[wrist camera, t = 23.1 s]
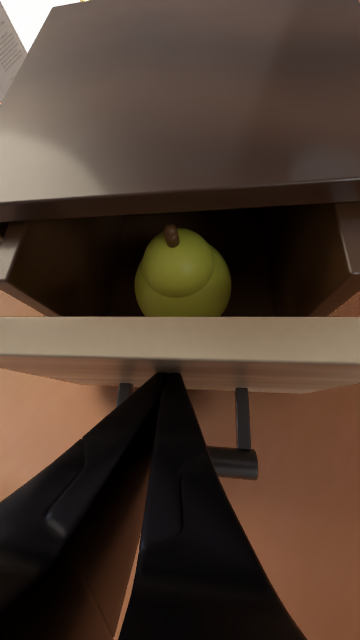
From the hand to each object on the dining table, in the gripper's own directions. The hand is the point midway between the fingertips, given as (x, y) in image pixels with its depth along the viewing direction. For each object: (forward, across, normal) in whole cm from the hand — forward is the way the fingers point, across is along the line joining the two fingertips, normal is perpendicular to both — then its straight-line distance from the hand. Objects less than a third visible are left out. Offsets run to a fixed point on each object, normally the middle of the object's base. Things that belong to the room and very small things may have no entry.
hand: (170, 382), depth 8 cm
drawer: (+8, 0, +1) cm, 8 cm away
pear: (+7, 0, 0) cm, 7 cm away
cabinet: (+14, 0, -4) cm, 14 cm away
